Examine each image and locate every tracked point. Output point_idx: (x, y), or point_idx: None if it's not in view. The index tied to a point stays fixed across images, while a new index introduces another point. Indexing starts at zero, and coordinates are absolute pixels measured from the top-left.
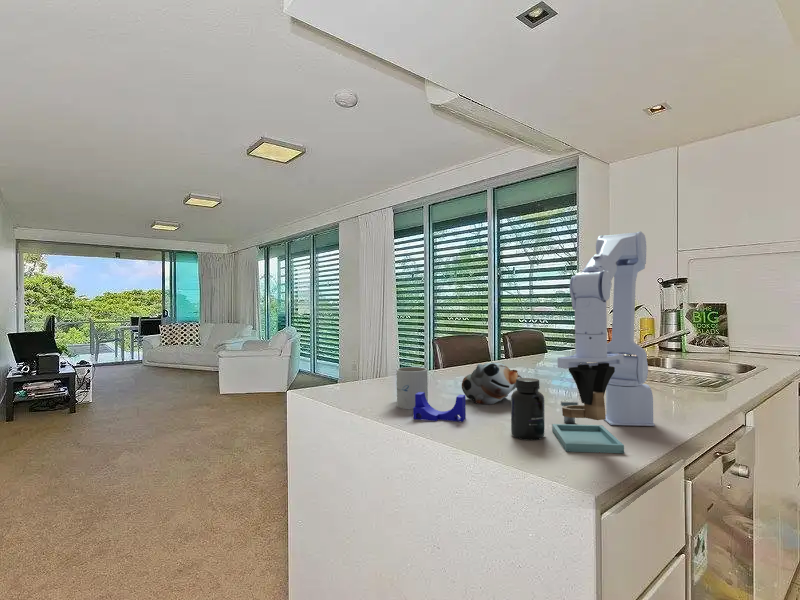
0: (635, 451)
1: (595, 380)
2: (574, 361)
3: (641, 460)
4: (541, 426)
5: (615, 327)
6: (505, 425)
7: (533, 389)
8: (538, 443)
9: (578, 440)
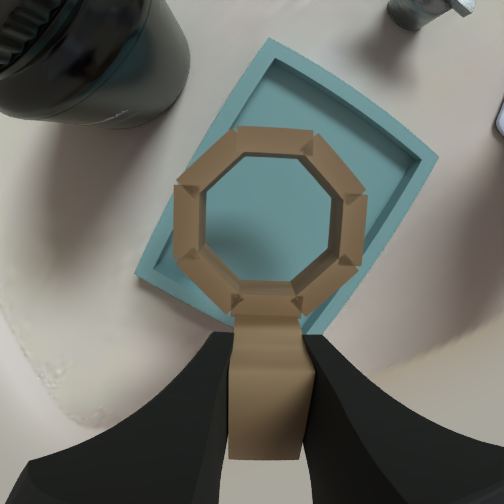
0: (342, 344)
1: (332, 471)
2: None
3: None
4: (127, 120)
5: None
6: None
7: None
8: (111, 157)
9: (245, 214)
